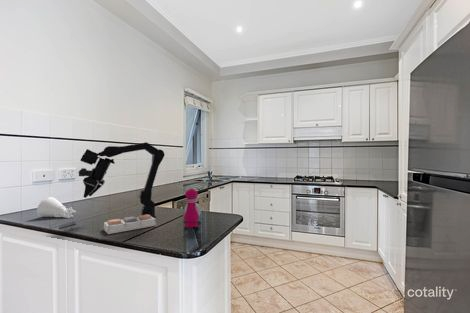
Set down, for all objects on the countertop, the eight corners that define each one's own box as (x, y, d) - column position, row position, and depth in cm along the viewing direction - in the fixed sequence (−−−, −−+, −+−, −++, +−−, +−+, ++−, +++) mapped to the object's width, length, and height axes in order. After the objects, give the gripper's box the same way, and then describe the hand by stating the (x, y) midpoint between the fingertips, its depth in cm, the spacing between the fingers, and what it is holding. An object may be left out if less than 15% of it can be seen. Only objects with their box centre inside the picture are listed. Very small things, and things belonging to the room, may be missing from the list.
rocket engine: (76, 200, 137) (50, 193, 140) (60, 217, 128) (33, 208, 132) (84, 212, 144) (59, 205, 148) (69, 229, 136) (43, 220, 139)
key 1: (118, 222, 115) (118, 218, 115) (121, 224, 112) (121, 220, 112) (108, 224, 112) (108, 220, 112) (110, 226, 109) (110, 222, 109)
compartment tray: (149, 221, 127) (149, 215, 127) (155, 225, 120) (155, 218, 120) (103, 229, 113) (103, 222, 113) (108, 234, 106) (108, 226, 106)
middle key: (133, 220, 120) (133, 216, 120) (136, 222, 116) (136, 218, 116) (124, 221, 117) (124, 217, 117) (126, 223, 113) (126, 219, 113)
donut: (201, 220, 130) (201, 201, 130) (198, 222, 126) (198, 203, 127) (186, 218, 133) (186, 200, 134) (182, 220, 130) (182, 201, 130)
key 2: (148, 218, 124) (148, 214, 124) (151, 219, 121) (151, 215, 121) (138, 219, 121) (138, 215, 121) (141, 221, 118) (141, 217, 118)
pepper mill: (184, 224, 122) (185, 185, 122) (199, 224, 122) (199, 184, 122) (183, 228, 114) (183, 186, 115) (198, 228, 115) (198, 186, 115)
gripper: (90, 163, 133) (76, 190, 130) (79, 161, 115) (63, 192, 112) (110, 171, 136) (97, 197, 133) (103, 170, 118) (88, 200, 115)
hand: (87, 196), depth 123 cm, fingers open, 9 cm apart
